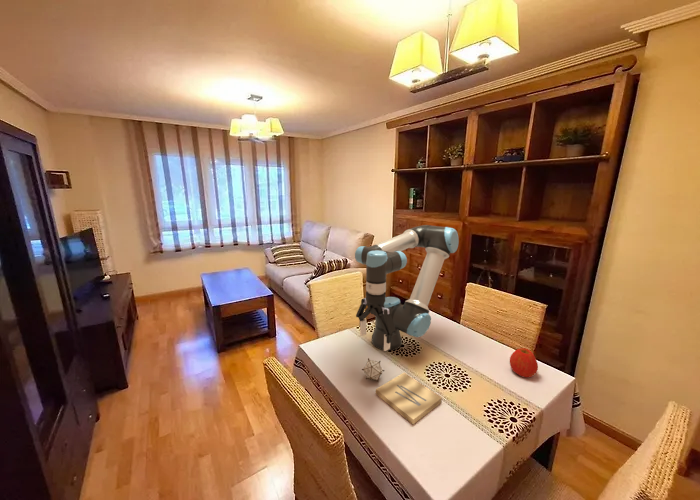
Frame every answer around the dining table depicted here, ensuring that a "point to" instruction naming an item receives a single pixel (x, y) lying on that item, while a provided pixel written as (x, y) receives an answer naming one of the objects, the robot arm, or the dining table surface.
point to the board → (408, 397)
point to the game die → (373, 370)
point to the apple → (523, 362)
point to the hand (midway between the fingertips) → (374, 341)
